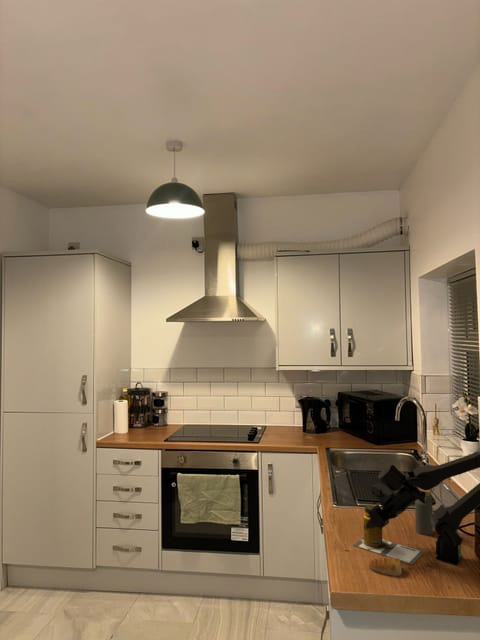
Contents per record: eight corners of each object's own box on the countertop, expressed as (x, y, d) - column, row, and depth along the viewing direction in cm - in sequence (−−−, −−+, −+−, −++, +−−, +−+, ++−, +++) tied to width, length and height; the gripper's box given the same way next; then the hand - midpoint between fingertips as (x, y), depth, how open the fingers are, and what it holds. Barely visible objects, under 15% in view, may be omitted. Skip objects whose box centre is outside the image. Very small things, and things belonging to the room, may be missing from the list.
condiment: (359, 539, 158) (359, 504, 159) (383, 538, 159) (383, 503, 160) (367, 549, 151) (367, 512, 152) (392, 548, 152) (391, 511, 152)
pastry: (369, 574, 137) (369, 561, 137) (368, 563, 143) (368, 550, 143) (402, 578, 134) (402, 564, 135) (400, 566, 141) (400, 554, 141)
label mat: (424, 552, 150) (424, 551, 150) (412, 565, 141) (412, 564, 141) (367, 534, 163) (367, 534, 163) (352, 545, 154) (352, 545, 154)
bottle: (435, 531, 165) (434, 489, 166) (429, 536, 161) (428, 493, 161) (419, 526, 169) (418, 485, 170) (412, 531, 165) (412, 489, 165)
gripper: (396, 471, 160) (367, 495, 167) (373, 484, 146) (342, 510, 153) (419, 499, 155) (388, 523, 162) (398, 515, 141) (364, 541, 147)
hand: (370, 523), depth 156 cm, fingers closed on condiment, 6 cm apart
